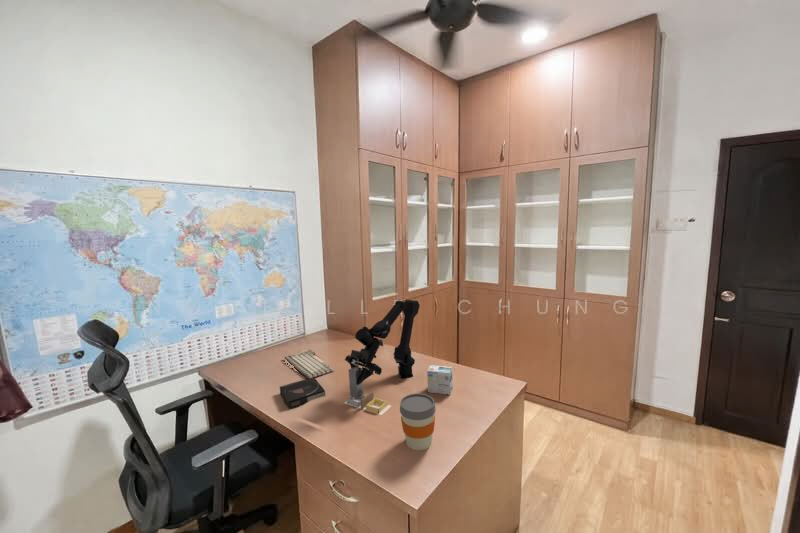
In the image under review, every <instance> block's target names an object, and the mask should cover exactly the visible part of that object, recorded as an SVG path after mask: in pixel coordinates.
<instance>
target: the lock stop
mask: <svg viewBox="0 0 800 533" xmlns="http://www.w3.org/2000/svg"><path fill="white" fill-rule="evenodd" d="M361 373H362V367H361V366H359V367H355V366H354V367H352V368H351V367H350V368H349V369H348V380H349V382H348V383H349V392H350V397H351V396H352V397H355V398H359V397H360V396H361V395H364V384H363V382H364V381H363V382H362V383H360V384H359V385H357V381H358V379H359V377H360V375H361Z"/></svg>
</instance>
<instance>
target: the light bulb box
mask: <svg viewBox="0 0 800 533" xmlns="http://www.w3.org/2000/svg"><path fill="white" fill-rule="evenodd" d="M426 377H427V378H426V379H427V392H428V393H431V394H438V393H439V394H440V395H446V394H448V395H447V396H451V395H452V391H453V390H454V388H453V387H454V383H453V367H452V366H443V365H434V364H430V365H429V367H428V369H427V370H426ZM439 394H438V395H439ZM450 394H451V395H450Z"/></svg>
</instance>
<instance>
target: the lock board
mask: <svg viewBox="0 0 800 533" xmlns="http://www.w3.org/2000/svg"><path fill="white" fill-rule="evenodd" d="M374 396H375V395H374V391H370V392H368V393H367V394H363V395H361V396H360V397H359V398H355V397H352V396H351V395H350V396H349V397H348V398H346V401H345V402H344V404H345V405H348V406H352V407H355V408H357V409H361V410H364V411H367V412H370V413H373V414H376V415H379V416H383V415H384V413H385V412H387V411H388V410H389V409H390V408H391V407H392V405H390V404H388V401H387V400H383V399H380V398H376V397H374Z"/></svg>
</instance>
